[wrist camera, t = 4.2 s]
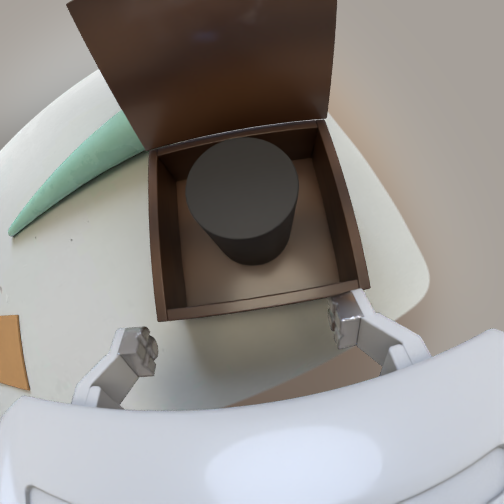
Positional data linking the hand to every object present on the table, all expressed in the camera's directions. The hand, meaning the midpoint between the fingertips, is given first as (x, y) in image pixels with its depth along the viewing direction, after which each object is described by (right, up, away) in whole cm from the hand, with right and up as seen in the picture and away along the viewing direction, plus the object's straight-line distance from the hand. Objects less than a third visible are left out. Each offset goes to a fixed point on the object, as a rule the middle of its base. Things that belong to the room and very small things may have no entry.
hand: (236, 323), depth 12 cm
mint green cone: (-21, +11, +16) cm, 29 cm away
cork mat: (-34, -11, +12) cm, 37 cm away
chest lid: (-1, +15, +1) cm, 15 cm away
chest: (+1, +5, +13) cm, 14 cm away
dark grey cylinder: (+1, +5, +12) cm, 13 cm away
